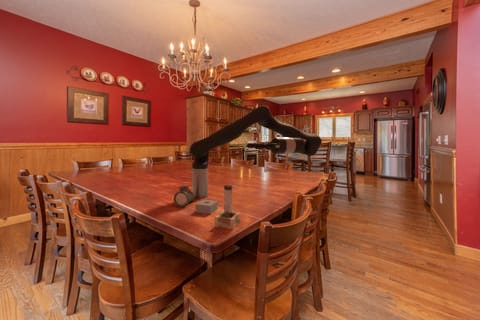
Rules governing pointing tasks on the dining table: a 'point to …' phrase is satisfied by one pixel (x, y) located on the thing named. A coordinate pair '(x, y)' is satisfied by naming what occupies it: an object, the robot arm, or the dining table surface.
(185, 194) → the pipe fitting
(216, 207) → the block
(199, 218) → the dining table surface
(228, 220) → the wooden square box frame
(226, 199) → the pin
